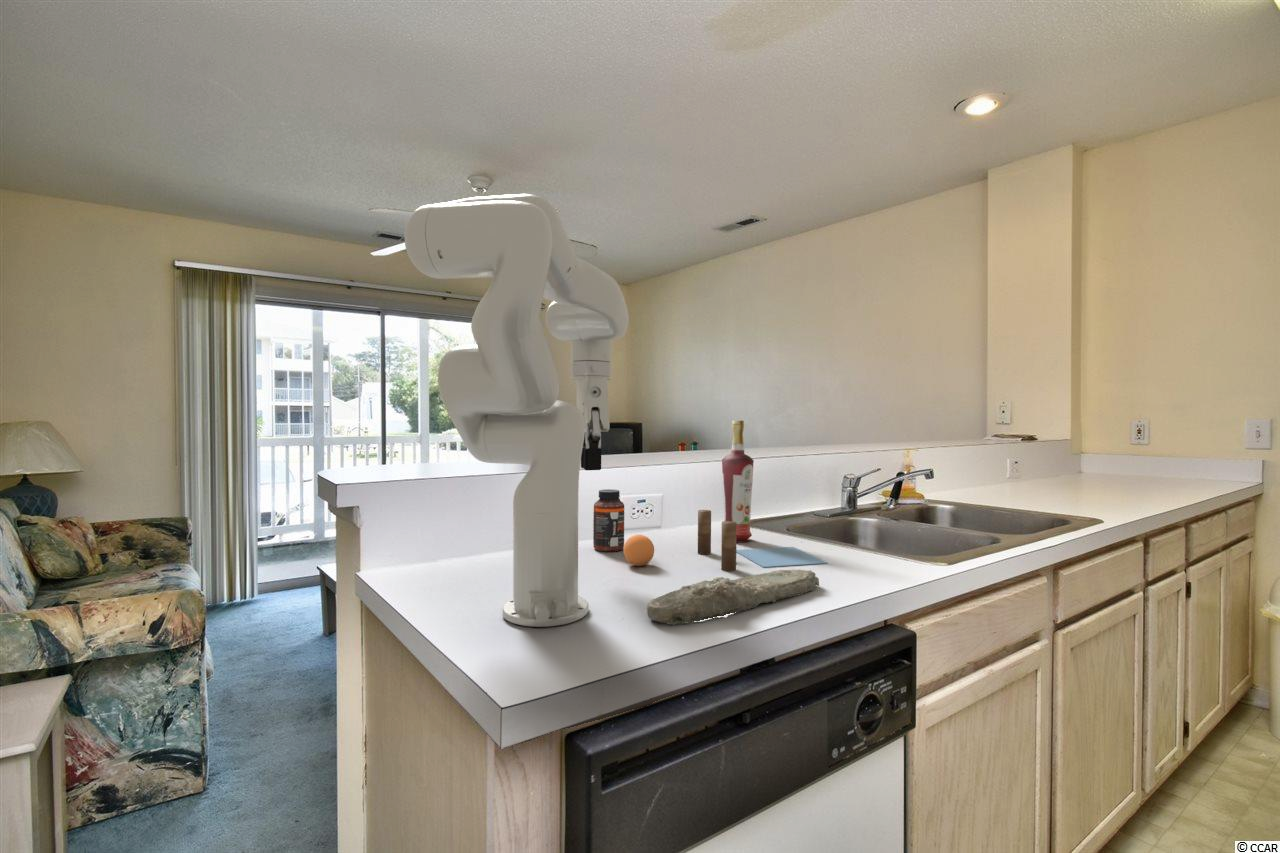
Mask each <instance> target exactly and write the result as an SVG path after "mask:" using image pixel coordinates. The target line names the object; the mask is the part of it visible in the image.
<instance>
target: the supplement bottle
mask: <svg viewBox="0 0 1280 853" xmlns="http://www.w3.org/2000/svg"><path fill="white" fill-rule="evenodd" d="M620 493H621V491H620V490H618V489H610V488H609V489H599V490H598V498H599V499H598V500H596V501H595V502H594V503H593V519H592V520H593V521H592V522H593V524H592V526H593V527H592V528H593V530H592V531H593V534H592V535H593V538H592V539H593V549H594V550H597V551H599V552H607V553H608V552H610V553H611V552H618V551H621V550H624V545H625V504H624V502H623V501H621V499H620V497H621V496H620Z"/></svg>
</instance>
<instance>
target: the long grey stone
mask: <svg viewBox="0 0 1280 853" xmlns="http://www.w3.org/2000/svg"><path fill="white" fill-rule="evenodd" d="M816 586H817V587H819V586H820V579H819V577H817V576H816V573H815V572H813V571H812V570H806V569H779V570H773V571H770V572H763V573H760V574H758V573H757V574H753V575H747V576H745V577H739V578H737V579H730V578H728V577H726V578H725V577H723V576H721V577H720V576H719V577H718V576H717V577H714V578H713V579H712V580H703V581H698V582H696V583H691V584H689V585H683V586H681V587H680V588H678V589H676V590H673V591H671V592H668V593H665V594H662V595H660V596H658V597H656V598H653V599H651V600H650V601H649V602H648V604H647V606H646V613H647V614H646V615H647V617H648V618H649V619H651V620H653V622H659V623H664V624H665V623H666V624H668V623H669V624H668V625H670V624H674V625H678V624H677V623H683V624H688V623H687V622H694V621H700V620H704V619H708V618H713V617H717V616H724V615H726V614H730V613H735V612H737V613H739V612H738V611H741V612H743V611H742V610H746V611H747V609H748V610H752V609H751V608H753V609H754V608H756V607H757V606H758V605H760V604H761V603H763V604H768V603H771V602H774V603H775V602H777V601H779V600H782V599H786V598H787V597H788V598H792V597H791V596H794V597H796V596H795V595H798V594H802V593H805V594H806V593H808V592H812V591H814V589H815V588H816ZM802 595H803V594H802ZM798 596H799V595H798ZM788 598H787V599H788ZM776 600H777V601H776ZM735 614H736V613H735ZM685 622H686V623H685ZM675 623H676V624H675Z"/></svg>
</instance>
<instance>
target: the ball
mask: <svg viewBox="0 0 1280 853" xmlns="http://www.w3.org/2000/svg"><path fill="white" fill-rule="evenodd" d="M623 555H624V558H625V560H626V561H627V563H628V564H631V565H632V566H636V567H641V566H645V565H647V564H649V563H650V562H651V561H652V559H653V558H654V555H655V546H654V543H653V541H652V540H651V539H650V538H649V537H648V536H646V535H644V534H634V535H632V536H629V538H628V539H627V540H626V541H625V542H624V548H623Z"/></svg>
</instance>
